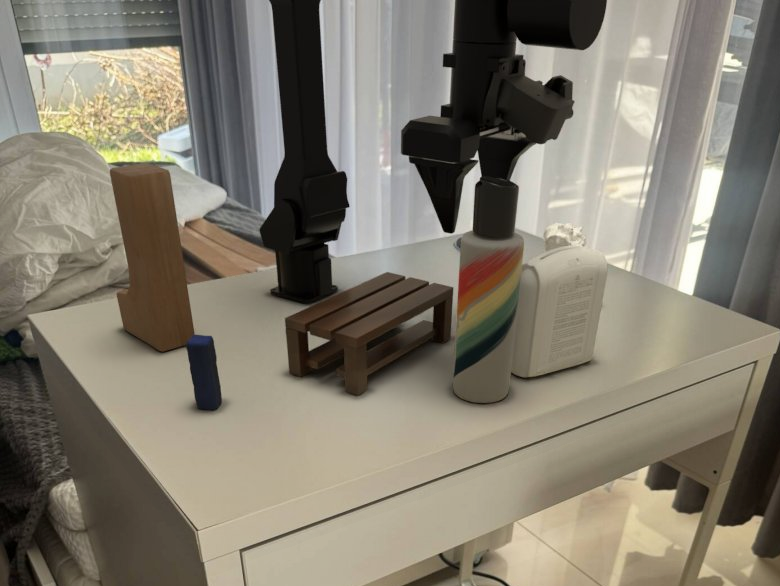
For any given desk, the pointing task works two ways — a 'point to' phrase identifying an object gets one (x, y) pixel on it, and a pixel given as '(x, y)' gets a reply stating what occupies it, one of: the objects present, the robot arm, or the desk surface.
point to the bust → (563, 236)
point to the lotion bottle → (488, 294)
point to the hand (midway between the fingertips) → (471, 222)
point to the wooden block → (152, 258)
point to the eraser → (204, 372)
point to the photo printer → (558, 310)
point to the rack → (367, 326)
